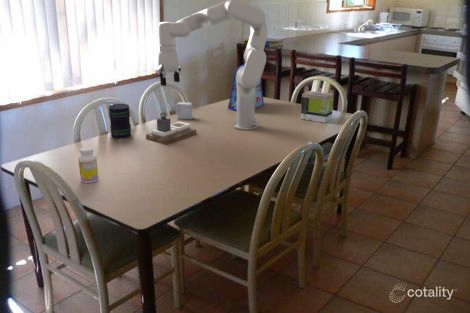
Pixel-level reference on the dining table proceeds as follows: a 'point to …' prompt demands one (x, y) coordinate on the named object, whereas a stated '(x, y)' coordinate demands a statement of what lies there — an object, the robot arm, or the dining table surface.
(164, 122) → the plug
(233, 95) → the lunch bag
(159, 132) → the socket plate
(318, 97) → the tea box
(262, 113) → the dining table surface
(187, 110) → the medicine box
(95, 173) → the supplement bottle
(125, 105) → the storage jar
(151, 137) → the walnut board
